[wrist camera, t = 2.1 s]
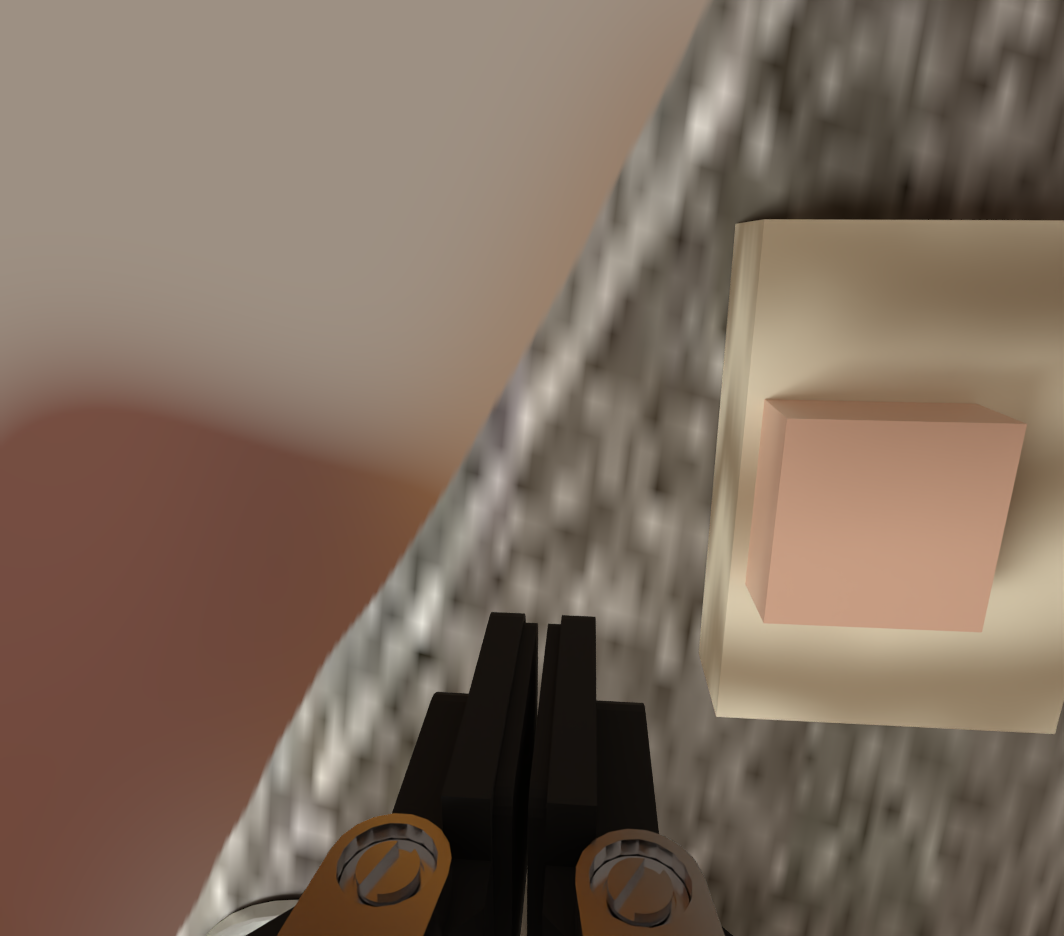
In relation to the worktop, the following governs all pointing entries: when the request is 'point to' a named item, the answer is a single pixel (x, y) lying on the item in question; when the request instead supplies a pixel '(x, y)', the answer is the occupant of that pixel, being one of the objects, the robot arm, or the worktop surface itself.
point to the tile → (880, 512)
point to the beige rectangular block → (895, 376)
